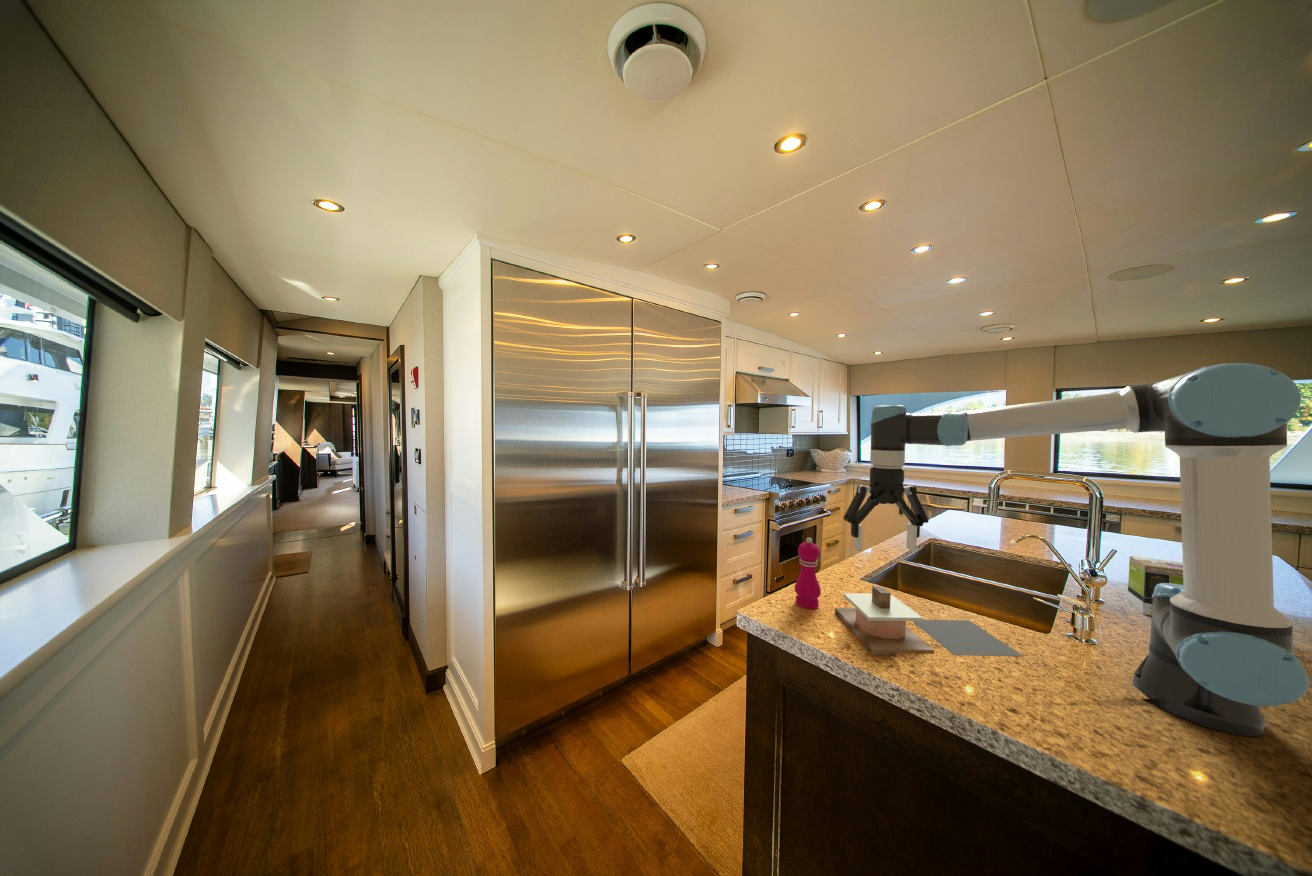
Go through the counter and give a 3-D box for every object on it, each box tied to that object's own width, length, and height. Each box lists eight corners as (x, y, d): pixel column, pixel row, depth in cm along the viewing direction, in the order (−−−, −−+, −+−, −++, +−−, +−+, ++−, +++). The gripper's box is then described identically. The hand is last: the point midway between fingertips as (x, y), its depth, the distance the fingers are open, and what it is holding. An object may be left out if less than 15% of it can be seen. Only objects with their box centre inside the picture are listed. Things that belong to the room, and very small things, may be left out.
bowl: (914, 638, 96) (915, 619, 96) (869, 638, 96) (870, 618, 96) (888, 616, 107) (889, 598, 107) (848, 615, 107) (848, 597, 107)
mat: (1023, 660, 91) (1023, 655, 91) (954, 659, 91) (954, 654, 91) (968, 623, 107) (969, 620, 107) (909, 622, 107) (909, 619, 107)
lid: (922, 620, 95) (923, 601, 95) (869, 620, 95) (870, 601, 95) (890, 596, 108) (891, 579, 108) (843, 596, 108) (843, 578, 108)
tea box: (1202, 615, 114) (1207, 564, 113) (1226, 630, 106) (1231, 576, 105) (1125, 601, 122) (1129, 554, 121) (1141, 614, 114) (1145, 564, 113)
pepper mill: (822, 611, 113) (825, 542, 112) (795, 608, 114) (798, 540, 113) (817, 599, 120) (819, 535, 119) (792, 597, 121) (794, 533, 120)
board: (933, 656, 92) (933, 649, 92) (873, 655, 92) (873, 648, 92) (884, 613, 112) (884, 608, 112) (834, 612, 112) (835, 607, 112)
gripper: (926, 465, 103) (923, 545, 104) (830, 464, 104) (829, 544, 104) (947, 468, 96) (944, 554, 97) (844, 468, 96) (842, 554, 97)
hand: (884, 549), depth 101 cm, fingers open, 13 cm apart
